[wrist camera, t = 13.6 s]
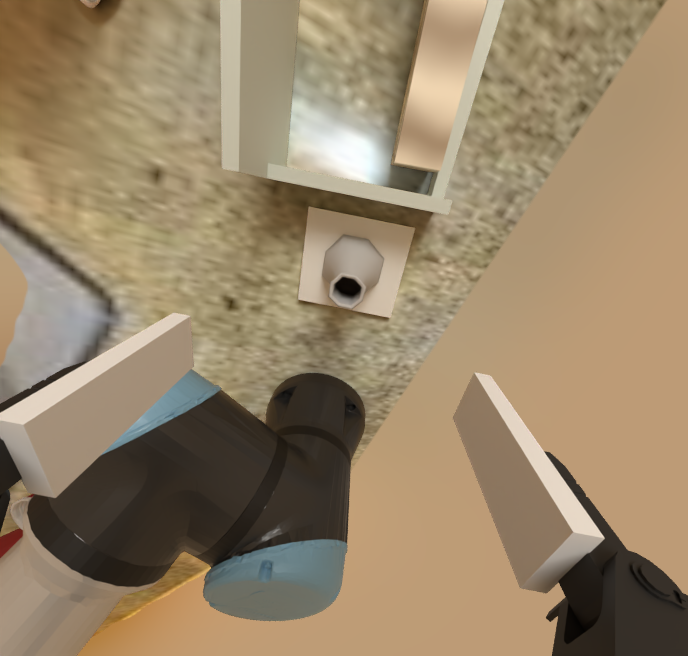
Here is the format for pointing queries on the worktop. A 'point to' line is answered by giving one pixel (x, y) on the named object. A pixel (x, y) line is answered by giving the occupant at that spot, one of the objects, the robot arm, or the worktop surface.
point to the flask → (351, 270)
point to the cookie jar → (90, 3)
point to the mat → (383, 235)
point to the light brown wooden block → (436, 81)
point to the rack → (276, 98)
